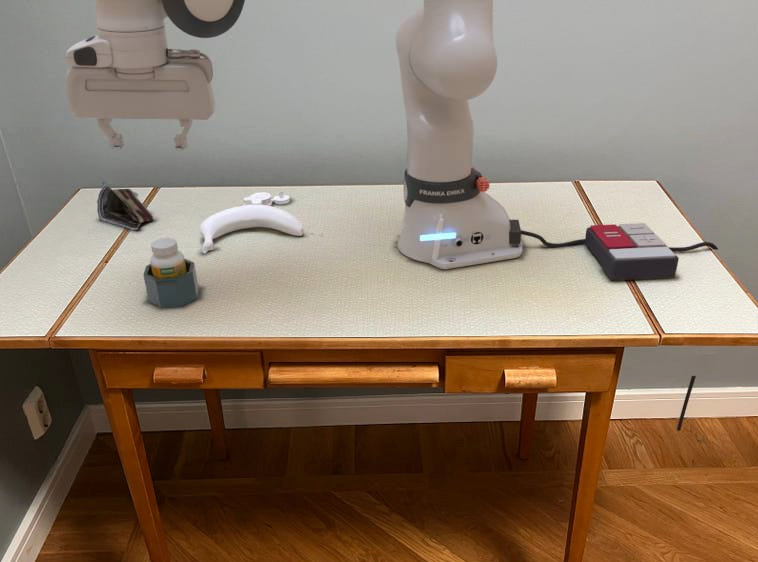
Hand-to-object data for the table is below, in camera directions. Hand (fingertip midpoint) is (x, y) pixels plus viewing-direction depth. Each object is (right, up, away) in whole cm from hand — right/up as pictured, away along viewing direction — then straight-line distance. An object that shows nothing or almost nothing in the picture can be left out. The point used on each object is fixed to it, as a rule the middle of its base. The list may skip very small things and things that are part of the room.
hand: (149, 147), depth 110 cm
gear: (+11, 0, +43) cm, 44 cm away
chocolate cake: (-15, -3, +39) cm, 42 cm away
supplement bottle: (0, -21, +13) cm, 25 cm away
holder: (0, -21, +13) cm, 24 cm away
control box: (+78, -14, +20) cm, 81 cm away
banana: (+10, -9, +30) cm, 33 cm away
